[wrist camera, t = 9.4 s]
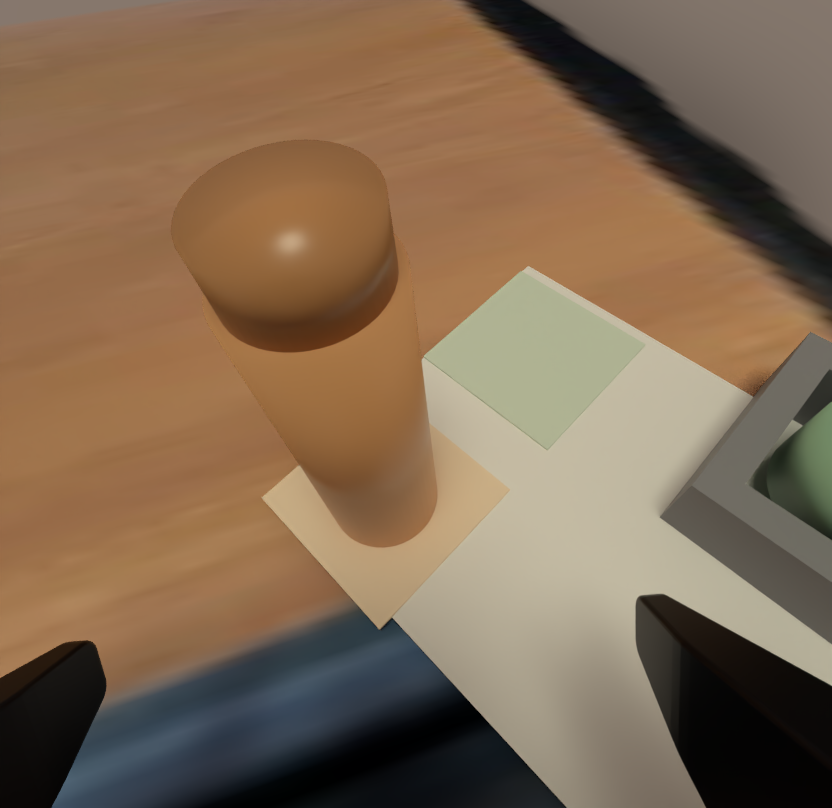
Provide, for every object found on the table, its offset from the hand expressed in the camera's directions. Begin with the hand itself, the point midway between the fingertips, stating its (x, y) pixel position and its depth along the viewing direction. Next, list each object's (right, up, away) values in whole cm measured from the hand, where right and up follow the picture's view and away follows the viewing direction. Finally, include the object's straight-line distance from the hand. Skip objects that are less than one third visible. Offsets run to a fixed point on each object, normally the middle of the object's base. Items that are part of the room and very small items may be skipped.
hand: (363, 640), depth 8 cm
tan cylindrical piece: (0, +1, +9) cm, 9 cm away
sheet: (+7, 0, +8) cm, 11 cm away
